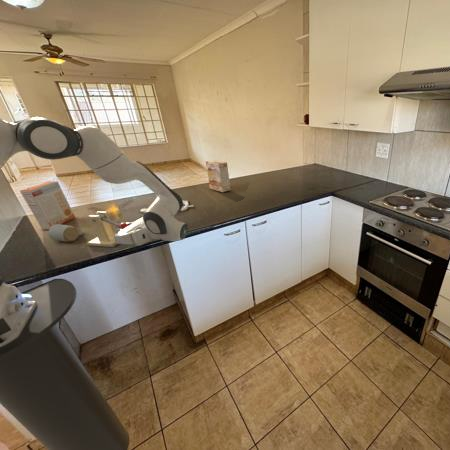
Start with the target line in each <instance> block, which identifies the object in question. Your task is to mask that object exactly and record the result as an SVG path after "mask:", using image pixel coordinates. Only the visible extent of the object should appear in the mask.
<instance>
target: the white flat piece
mask: <svg viewBox="0 0 450 450" xmlns="http://www.w3.org/2000/svg"><path fill="white" fill-rule="evenodd" d="M182 201H183V207H182V208H181V209H180V210H179V212H183V211H186V210H188V208H195V206H194V204H192V205H190V204H189V200H183V199H182ZM148 208H149V207H148ZM148 208H147V207H146V208H141V209H140V213H145V211H146V210H147V209H148ZM141 216H142V217H143V214H142V215H141ZM142 217H141V218H142Z"/></svg>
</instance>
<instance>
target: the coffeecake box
mask: <svg viewBox="0 0 450 450" xmlns="http://www.w3.org/2000/svg"><path fill="white" fill-rule="evenodd" d="M205 166H206V172H207V178H208V185H209V190H213V191H216V192H221V193H225V192H229V191H231V183H230V182H231V181H230V174H229V166H228V162H227V161H222V160H216V159H211V160H206V161H205Z"/></svg>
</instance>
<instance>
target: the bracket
mask: <svg viewBox="0 0 450 450" xmlns="http://www.w3.org/2000/svg"><path fill="white" fill-rule="evenodd" d="M98 213H99V214H102V215H104V217H105V218H106V219H109V220H111V218H110V215H109V213H108V212H107V211H99V210H98V211H96V214H98ZM96 214H90V215H88V219H89V222H90V223H91V225H92V227H93V230H94V232H95V234H96V237H94V238H93V239H91V240H90V241H88V242H87V244H88V246H92V247H105V248H106V247H107V248H114V247H116V246H117V245H118V244H117V243H116V241H115V239H114V235H115V234H117V232H116V229H115V227H114V225H113V224H110V223H108V222H105V221H101V218H100V216H97V215H96Z"/></svg>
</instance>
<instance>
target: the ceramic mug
mask: <svg viewBox="0 0 450 450" xmlns="http://www.w3.org/2000/svg"><path fill="white" fill-rule="evenodd" d="M47 231H48V232H47V234H48V237H49V239H51V240H52V241H54V242H66V243H70V242H71V243H72V242H74V241H76V240H77V239H78V238H79V236H81V235H84V231H83V230H79V229H78V228H77V227H76V226H72V225H67V224H56V225H53V226H52V227H51V228H50V229H48V230H47Z"/></svg>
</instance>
